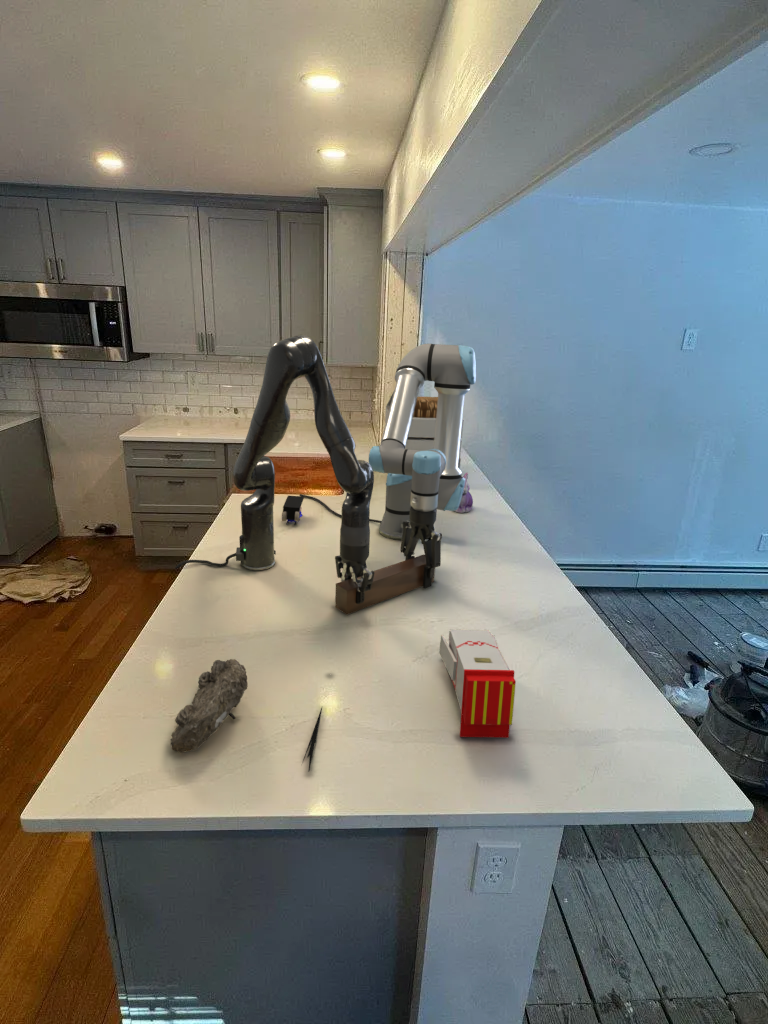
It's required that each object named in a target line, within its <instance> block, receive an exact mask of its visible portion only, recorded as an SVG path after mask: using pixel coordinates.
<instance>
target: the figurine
mask: <svg viewBox="0 0 768 1024" xmlns="http://www.w3.org/2000/svg"><path fill="white" fill-rule="evenodd" d="M462 477H463V478H465V486H464V490H463V494H462V498H461V502H460V505H459V507H458V509H457V510H455V511H454V512H456V513H462V514H463V513H468V512H470V511H471V510H472V509H473V505H474V499H473V496H472V494H471V492H470V489H471V487H470V484H469V482H468V479H469V473H468V472H465V473H464V474H463V476H462V475H461V478H462Z"/></svg>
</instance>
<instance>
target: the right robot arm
mask: <svg viewBox="0 0 768 1024" xmlns="http://www.w3.org/2000/svg"><path fill="white" fill-rule="evenodd" d="M476 380H477V363H476V353H475V350H474V348H473V347H471V346H468V345H461V344H443V343H442V344H441V343H439V344H438V343H423V344H419V345H417V346H415V347H414V348H412V349H411V350H410V351H408V352H407V353H406V354H405V355H404V356H403V358H402V359H401V360H400V361H399V364H398V365H397V367H396V369H395V373H394V382H395V386H394V389H393V392H394V394H393V393H392V394H393V397H392V401H391V405H390V409H389V413H388V417H387V420H386V423H384V424H385V425H384V428H383V432H382V435H381V439H380V444H379V445H372V447H371V448H370V450H369V454H368V463H369V464H370V465H371V467H372V469H373V472H377V473H381V474H387V475H386V482H385V504H384V505H385V507H384V508H385V509H384V513H383V515H382V519H381V520H379V519H373V518H369V522H371V523H377V524H379V525H378V533H379V534H380V535H381V536H382V537H385V538H387V539H389V540H395V541H400V548H399V551H400V553H401V554H402V553H403V555H404V561H405V560H408V559H411V558H414V557H416V556H415V554H416V553H415V550H416V548H417V545H418V542H419V540H420V543H421V545H422V546H423V553H424V555H425V559H426V564H427V566H425V567H424V579H423V586H422V588H423V589H428V588H429V587H432V584H433V582H432V577H433V576H434V577H435V575H434V568H435V569H436V568H438V567H441V565H442V563H441V561H442V557H441V556H442V553H441V552H442V548H441V547H442V545H441V544H442V543H441V542H442V538H443V533H442V532H439V533H438V532H437V531H436V530H435V529H436V528H435V523H436V522H437V515H438V514H437V513H438V510H440V511H443V512H445V511H447V512H455V510H457V509H458V507H459V505H460V502H461V498H462V494H463V490H464V486H465V478H463V476H462V475H463V474H462V470H461V468H460V469H459V468H458V459H459V449H460V440H461V439H462V438H461V428H462V419H463V418H464V408H465V407H464V406H465V405H464V404H465V396H466V394H467V393H468V392H469V391H470V390H471V386H472V385H475V384H476ZM425 382H434V383H433V387H434V389H435V391H436V392H437V397H438V403H437V414H436V426H435V438H434V449H431V450H428V451H419V450H409V449H405V447H406V443H407V439H408V435H409V431H410V426H411V422H412V418H413V414H414V409H415V405H416V401H417V397H419V392H420V389H421V388H422V387H423V386H424V384H425ZM461 476H462V478H461ZM299 496H302V497H304V498H307V499H310V500H314V501H316V502H318V503H320V504H321V505H322V506H323V507H325V509H326V510H327V511H329V512H330V513H332V514H334V515H335V516H337V517H339V518H342V514H340V513H338V512H336V511H335V510H333V509H331V508H330V507H329V506H328V505H327V504H326V503H324V501H322V500H320V499H318V498H316V497H314V496H310V495H307V494H301V493H299Z"/></svg>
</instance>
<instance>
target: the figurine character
mask: <svg viewBox="0 0 768 1024" xmlns="http://www.w3.org/2000/svg"><path fill="white" fill-rule="evenodd" d="M304 498H305V497H302V496H300V495H287V497H286V499H285V500H284V504H283V507H282V513H281V514H282V515H281V522H286V523H285V525H286V526H289V523H294V524H293V526H297V522H299V521H301V518H302V517H303V514H302V511H303V508H302V505H303V501H304V500H305V499H304Z"/></svg>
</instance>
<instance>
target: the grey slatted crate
mask: <svg viewBox="0 0 768 1024" xmlns="http://www.w3.org/2000/svg"><path fill="white" fill-rule="evenodd" d="M393 394H394V391H393V392H392V393H391V395H390V398H389V400H388V402H387V403H386V405H385V413H384V414H385V416H384V424H386V420H387V417H388V413H389V409H390V405H391V401H392V397H393ZM437 403H438V396H418V397H417V401H416V405H415V409H414V414H413V418H412V422H411V426H410V431H409V435H408V439H407V443H406V447H405V449H409V450H419V451H428V450H431V449H434V438H435V426H436V414H437ZM463 431H464V419H463V418H462V428H461V438H460V449H459V459H458V468H459V469H460V470H461V462H462V458H461V452H462V443H463V442H462V438H463Z"/></svg>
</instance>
